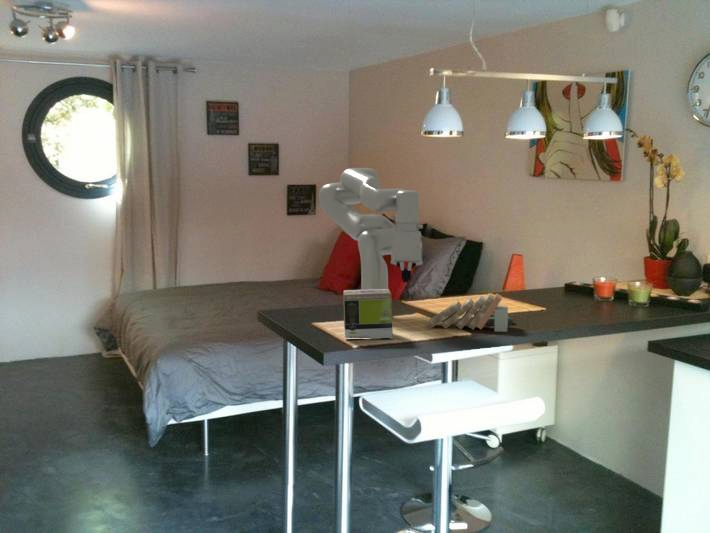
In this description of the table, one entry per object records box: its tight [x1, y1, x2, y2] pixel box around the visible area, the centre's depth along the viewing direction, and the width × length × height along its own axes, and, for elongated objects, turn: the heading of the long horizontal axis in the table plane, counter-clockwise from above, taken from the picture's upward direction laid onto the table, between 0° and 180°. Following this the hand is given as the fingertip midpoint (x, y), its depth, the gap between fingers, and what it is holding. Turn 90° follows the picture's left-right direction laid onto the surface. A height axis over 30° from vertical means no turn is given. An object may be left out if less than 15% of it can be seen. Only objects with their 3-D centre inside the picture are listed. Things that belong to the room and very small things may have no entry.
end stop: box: [493, 305, 509, 333], centre depth 236 cm, size 4×8×7 cm, turn 167°
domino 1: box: [426, 300, 463, 329], centre depth 240 cm, size 2×6×12 cm
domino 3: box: [455, 295, 486, 330], centre depth 238 cm, size 2×6×12 cm
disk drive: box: [473, 310, 514, 326], centre depth 250 cm, size 10×3×15 cm
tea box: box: [342, 288, 394, 340], centre depth 227 cm, size 15×10×15 cm, turn 92°
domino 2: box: [441, 297, 475, 329], centre depth 239 cm, size 2×6×12 cm
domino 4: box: [468, 293, 495, 330], centre depth 237 cm, size 2×6×12 cm, turn 167°
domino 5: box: [475, 292, 503, 330], centre depth 236 cm, size 2×6×12 cm, turn 166°
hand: (406, 281), depth 242 cm, fingers closed
